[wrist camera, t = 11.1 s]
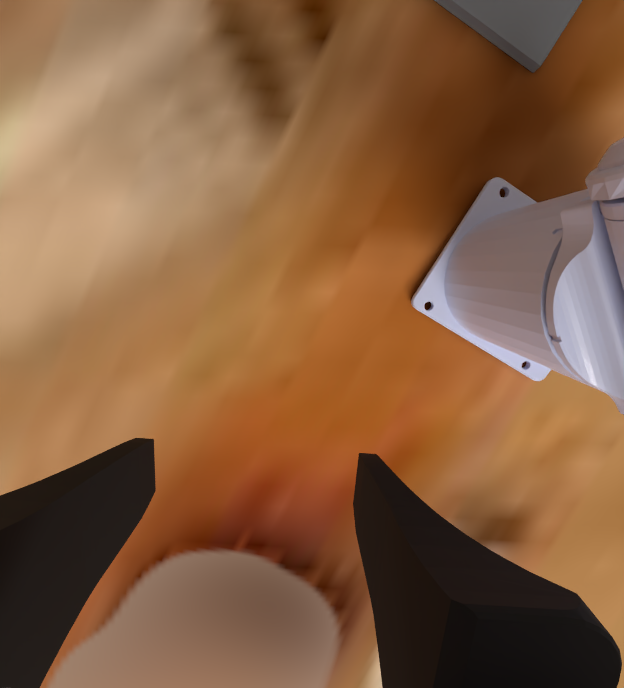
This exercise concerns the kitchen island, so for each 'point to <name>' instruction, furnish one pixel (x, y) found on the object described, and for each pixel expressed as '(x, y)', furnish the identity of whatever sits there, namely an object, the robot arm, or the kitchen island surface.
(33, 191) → the kitchen island surface
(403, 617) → the robot arm
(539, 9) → the mat
